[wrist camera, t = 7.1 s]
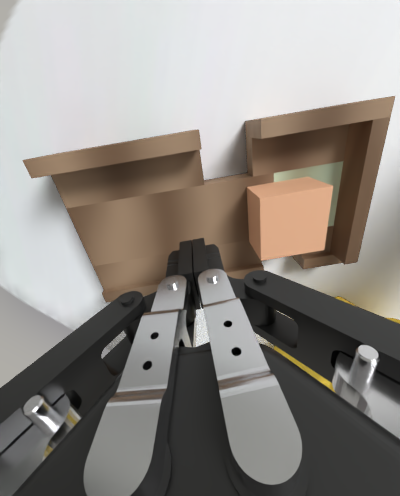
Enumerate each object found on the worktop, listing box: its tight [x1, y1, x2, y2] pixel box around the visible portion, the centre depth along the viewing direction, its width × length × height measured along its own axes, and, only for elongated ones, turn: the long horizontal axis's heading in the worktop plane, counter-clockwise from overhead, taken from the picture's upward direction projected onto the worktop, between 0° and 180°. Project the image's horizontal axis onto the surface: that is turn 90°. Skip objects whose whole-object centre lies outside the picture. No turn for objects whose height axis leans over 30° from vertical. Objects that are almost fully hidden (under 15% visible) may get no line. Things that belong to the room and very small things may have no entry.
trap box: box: [23, 96, 395, 302], centre depth 17 cm, size 21×12×4 cm, turn 99°
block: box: [247, 177, 333, 261], centre depth 16 cm, size 4×4×3 cm
